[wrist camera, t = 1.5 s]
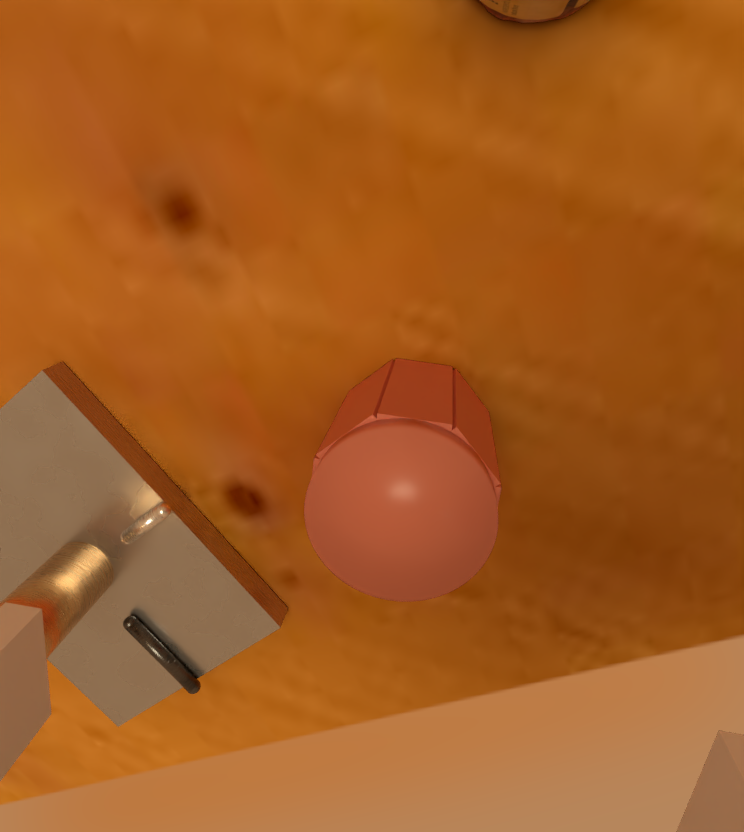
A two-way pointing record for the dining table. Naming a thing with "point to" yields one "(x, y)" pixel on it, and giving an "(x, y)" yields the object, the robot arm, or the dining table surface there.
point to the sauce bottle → (532, 9)
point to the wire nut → (406, 484)
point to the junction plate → (115, 555)
